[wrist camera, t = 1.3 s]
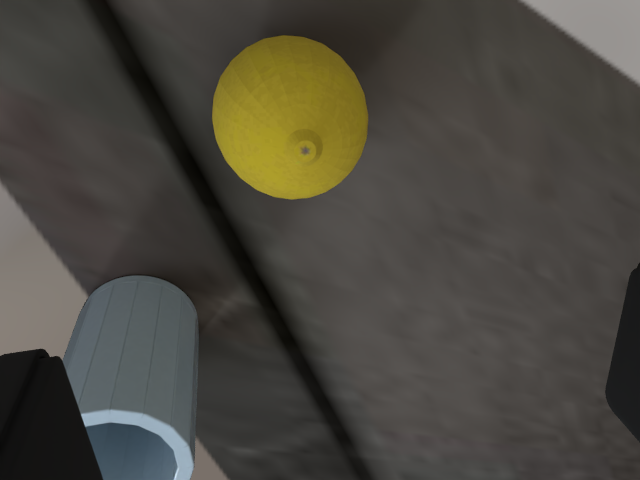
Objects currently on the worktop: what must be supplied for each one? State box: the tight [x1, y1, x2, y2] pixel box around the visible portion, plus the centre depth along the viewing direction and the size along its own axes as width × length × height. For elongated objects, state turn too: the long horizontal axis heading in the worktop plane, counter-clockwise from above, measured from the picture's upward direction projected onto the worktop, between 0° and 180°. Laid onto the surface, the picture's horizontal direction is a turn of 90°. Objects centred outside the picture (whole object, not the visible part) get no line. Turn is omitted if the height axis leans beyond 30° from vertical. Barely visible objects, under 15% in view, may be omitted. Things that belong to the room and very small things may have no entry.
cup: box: [62, 275, 199, 480], centre depth 24 cm, size 6×6×9 cm
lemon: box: [212, 35, 368, 199], centre depth 21 cm, size 6×6×8 cm
